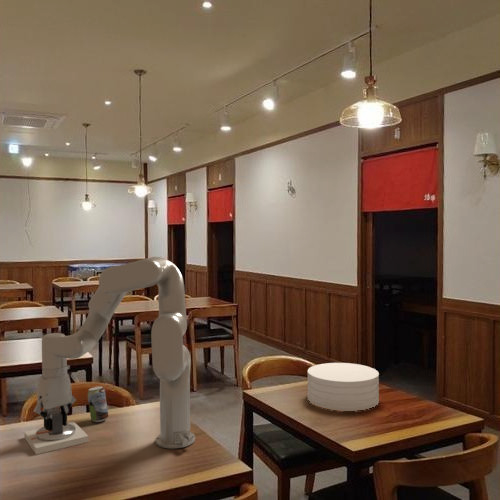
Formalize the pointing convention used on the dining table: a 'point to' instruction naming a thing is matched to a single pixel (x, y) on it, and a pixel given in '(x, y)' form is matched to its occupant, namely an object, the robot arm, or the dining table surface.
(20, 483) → the dining table surface
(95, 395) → the beverage can
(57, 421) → the dial
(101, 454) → the dining table surface
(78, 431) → the dial base
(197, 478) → the dining table surface
